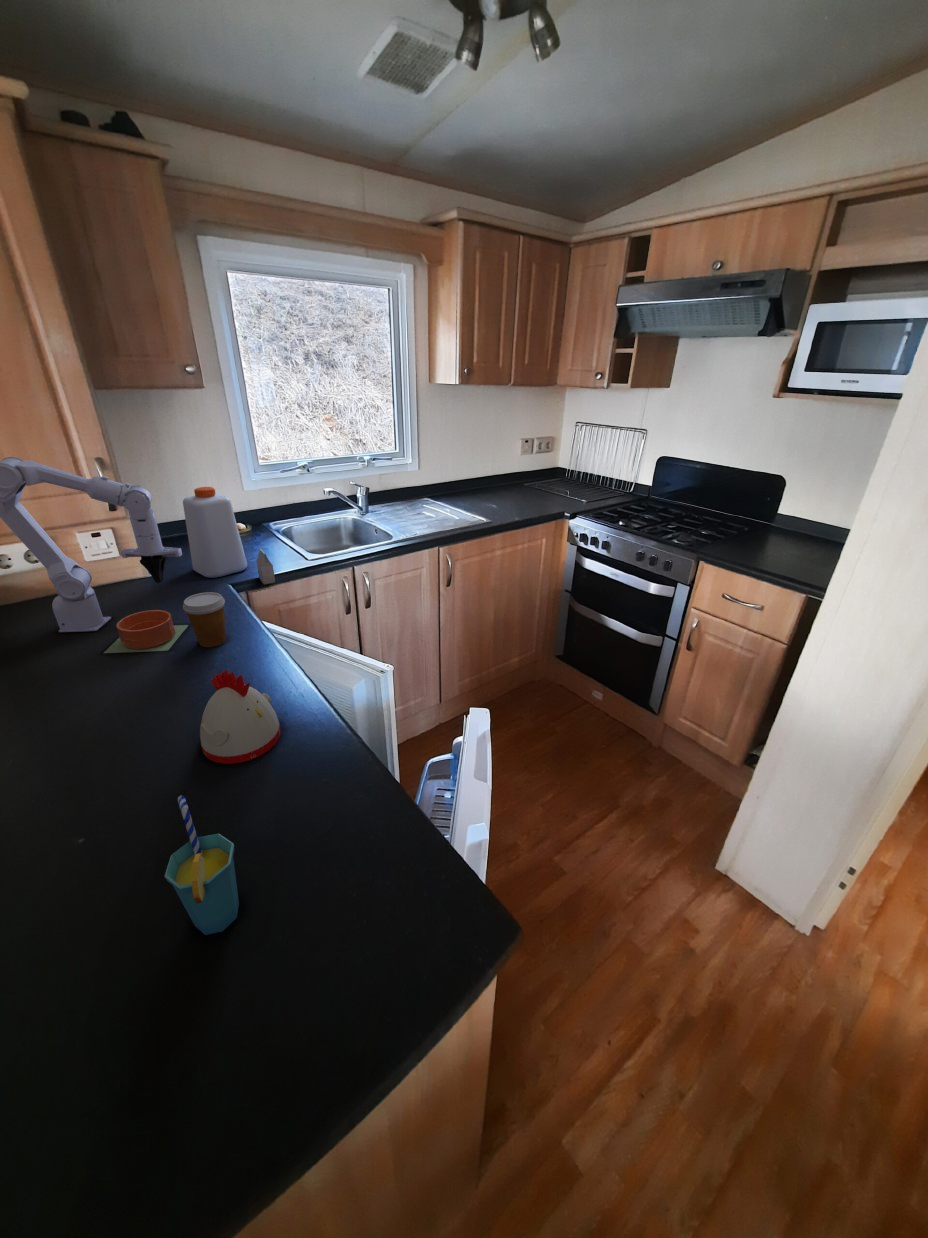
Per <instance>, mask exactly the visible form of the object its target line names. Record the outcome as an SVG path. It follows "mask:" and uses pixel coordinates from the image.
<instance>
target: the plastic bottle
mask: <svg viewBox="0 0 928 1238" xmlns="http://www.w3.org/2000/svg"><path fill="white" fill-rule="evenodd" d="M193 492H194V495H190V496H186V497H185V498H183V499H182V507H183V513H184V520H185V527H186V533H187V540H188V546H189V552H190V558H191V565H192V570H193V571H195V572H196V573H198V574H199V575H202V576H203V577H204V578H209V579H216V578H221V577H225V576H229V575H231V574H232V575H233V574H236V573H239V572H242V571H244V570H246V569H247V567H248V562H247V558H246V555H245V550H244V547H243V543H242V538H241V535H240V530H239V527H238V523H237V519H236V515H235V512H234V508H233V504H232V501H231V499H230V498H229V497H227V496H225V495H222V494H219V493H216V488H214V487H212V486H199V487H196V488H194V490H193Z"/></svg>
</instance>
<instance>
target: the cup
mask: <svg viewBox="0 0 928 1238" xmlns="http://www.w3.org/2000/svg"><path fill="white" fill-rule="evenodd" d="M177 803H178V808H179V810H180V813H181V816H182V819H183V822H184V826H185V828H186V832H187V835H188V839H189V840H188V842H186V843H185V844H184V845H182V846H181V847H180V848H179V849H177V850H176V851H174V852H173V853H172V854H171V855H170V857H169V861H168V864H167V867H166V869H165V873H164V876H163V877H164V879H165V880H166V881H167V882H168V883H169V884H170V885H171V886H172V887H173V888H174V889H173V890H174V891H175V892H176V894H177V896H178V898H179V899H180V901H181V903H182V905H183V907H184V908H185V910H186V912H187V914H188V917H189V918H190V919H191V922H192V923H193V925H194V927H195V929H197V930H199V931H200V932H201V933H202V934H203V935H205V936H208V935H212V934H218V933H221V932H222V933H223V932H224V931H225V930H226V929H227V928H228V927H229V926H230V925H231V924H233V923H234V921H235V920H236V919H237V918H238V914H239V913H238V912H239V906H240V900H239V891H238V885H237V877H236V869H235V862H234V854H235V844H234V842H232V841H231V840H229V839H228V838H226V837H225V836H223V835H222V834H220V833H214V834H208V835H204V836H198V835H197V831H196V828H195V825H194V822H193V819H192V816H191V815H192V814H191V813H190V808H189V806H188V802H187V800H186V797H185V796H184V795H179V796H178V797H177Z"/></svg>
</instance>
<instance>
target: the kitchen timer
mask: <svg viewBox="0 0 928 1238" xmlns="http://www.w3.org/2000/svg"><path fill="white" fill-rule="evenodd" d="M210 682H211V683H212V685H213V687H214V688H215V690H216V691H215V692H214V693H213V694H212V696H211V697H210V698H209V699H208V701H207V703H206V706H205V708H204V710H203V712H202V716H201V723H200V725H199V726H200V729H199V738H200V745H201V750H202V753H203V755H204V756H205V757H206V758H207V759H208V760H210V761H212V762H214V763H219V764H223V765H224V764H225V765H227V764H228V765H229V764H239V763H244V762H248V761H252V760H253V759H256V758H258V757H260V756H262V755H264V754H265V753H267V752H268V751H270V750H271V749H272V748H273V747H274V746H275V745H276V744H277V742H278V741H279V739H280V737H281V732H282V731H281V724H280V721H279V718H278V715H277V713H276V711H275V709H274V708H273V706H272V698H271V697H270V696H269V694H268V693H266V692H262V693H261V692H259V690H257V689H256V688H254V687H252V686H250V685H251V683H250V681H248V682H247V683H246V684H245V682H244V678H243V675H242V674H239V675H238V676H237V677H236V676H235V673H234V671H231V672H230V673H228V671H227V669H225V670H223V671H222V672H221V673H218V674H217V675H215V676H214V677H213V678H211V679H210Z"/></svg>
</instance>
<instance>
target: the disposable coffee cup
mask: <svg viewBox="0 0 928 1238" xmlns="http://www.w3.org/2000/svg"><path fill="white" fill-rule="evenodd" d="M225 604H226V599H225V598H224V597H223V596H222V594H221V593H218V592H213V591H211V592H209V591H206V592H200V593H199V592H198V593H195V594H192V595H189V596H188V597H186V598H185V599H184V600H183V605H182V609H183V611H184V612H185V613H186V615H187V617H188V619H189V623H190V624H191V627H192V630H193V632H194V634H195V636H196V639H197V641H198V644H199V646H201V647H203V648H213V647H218V646H220V645H222V644H225V642H226V641H227V631H226V616H225Z"/></svg>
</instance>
